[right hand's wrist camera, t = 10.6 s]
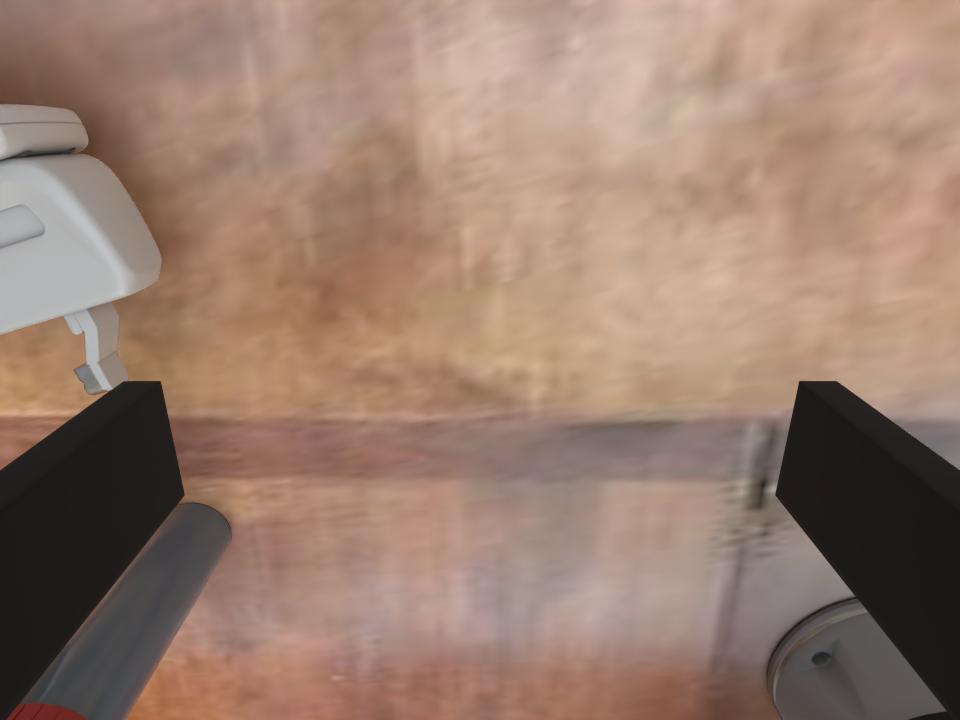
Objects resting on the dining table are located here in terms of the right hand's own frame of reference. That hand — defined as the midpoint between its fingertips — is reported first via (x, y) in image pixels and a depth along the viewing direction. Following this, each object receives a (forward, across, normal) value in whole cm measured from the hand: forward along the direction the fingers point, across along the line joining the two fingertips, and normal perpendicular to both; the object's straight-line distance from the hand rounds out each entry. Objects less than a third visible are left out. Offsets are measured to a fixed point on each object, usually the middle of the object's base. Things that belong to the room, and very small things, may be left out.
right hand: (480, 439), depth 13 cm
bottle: (+26, +21, +22) cm, 40 cm away
